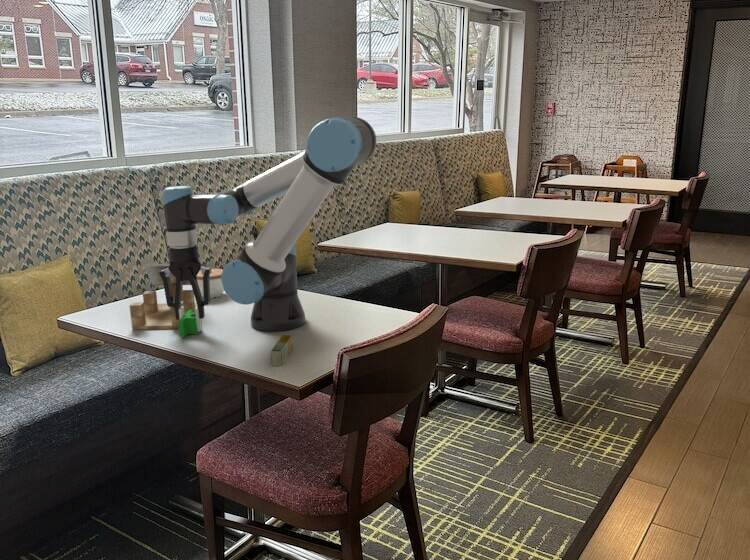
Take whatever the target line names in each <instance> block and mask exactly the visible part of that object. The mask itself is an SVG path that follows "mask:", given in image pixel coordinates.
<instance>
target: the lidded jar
mask: <svg viewBox="0 0 750 560" xmlns="http://www.w3.org/2000/svg"><path fill="white" fill-rule="evenodd" d="M207 268H211V273H210V276H209V280H210V299H214V297H216V298H219V297H221V296H222V295H223V293H224V292H225V291H224V288H223V284H222V282H221V275H222V271H223V269H224V268H212V267H211V266H210V267H208V266H207ZM201 273H202V272H201V271H199V273H198V274H197V281H198V285H199V288H200V292H201V295H202V298H203V297H204V293H203V275H202V274H201ZM218 296H219V297H218Z"/></svg>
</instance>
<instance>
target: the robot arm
mask: <svg viewBox="0 0 750 560" xmlns="http://www.w3.org/2000/svg"><path fill="white" fill-rule="evenodd" d="M376 135H377V134H376V132H375V129H374V128H373V126H372V125H371V124H370V123H369V122H368V121H367V120H365V119H363V118H360V117H358V116H348V117H338V116H337V117H336V116H335V117H329V118H326V119H324V120H322V121H320V122H318V123H317V124H316V125H314V127H313V128H312V129H311V131H310V132H309V134H308V137H307V140H306V149H305V151H303V152H301V153H299V154H297V155H295V156H293V157H291V158H289V159H287V160H286V161H283V162H281V163H280V164H278V165H276V166H275V167H272V168H270V169H268V170H266V171H265V172H263V173H261V174H259V175H257V176H255V177H253V178H251V179H250V180H247V181H246V182H244V183H241V184H239V185H238V186H236V187H234V188H231V189H228V190H224V191H220V192H216V193H212V194H210V193H209V194H194V192H193V189H192V187H191V186H189V185H188V186H187V185H177V186H176V185H175V186H168V187H165V188H164V189H163V190H162V207H163V213H164V221H165V226H166V227H165V231H166V241H167V243H166V244H167V246H169V247H168V249H167V251H168V258H169V263H170V264H169V267H168V268H167V269H163V270H162V271H161V272H160V273H159V274H160V276H161V278H162V280H163V284H164V286H163V291H164V294H165V300H166V304H167V306H168V307H173V308H174V309H175V314H176V319H177V320H180V319H181V318H182V317H183V316H184V315H185V312H184V306H180V305H181V297H182V286H184V285H183V281H184V280H188V281H190V284H191V285H190V286H191V290H193V293H194V300H195V303H197V307H196V308H195V314H196V323H197V333H199V332H201V331H202V330H203V321H202V320H203V319H204V318H205V317H206V314H205V307H206V306H208V305H209V304H210V303H211V298H210V280H209V276H210V273H211V269H212V267H211V268H208V267H205V266H202V263H201V262H200V255H199V247H198V245H197V243H198V239H197V229H196V225H218V226H223V225H231V224H234V222H235V221H236V220H237V218H238V217H244V216H247V215H249V214H251V213H253V211H255V210H257V209H258V208H260V207H262V206H264V205H266V204H268V203H270V202H272V201H274V200H276V199H278V198H280V197H282V196H283V197H282V198H281V200H280V202H279V203H278V205H277V207H275V209H274V211H273V212H272V214H271V216H270V217H269V219H268V220H267V222H266V223H265V224H264V226H263V228H262V229H261V232H260V233H259V234H258V236H257V237H256V239H255V240H250V241H247V242H246V243H245V245H244V247H243V248H242V249H241V250H240V252H239V254H238V255H237V257H236V259H233V260H231V261H229V262H228V263H227V264H226V265H225V266H224V268H222V269H223V271H222V275H221V282H222V284H223V288H224V292H225V293H226V295H227V296H228V298H230V299H231V300H232V301H233V302H236V303H237V304H239V305H240V304H241V305H245V306H246V305H252V304H253V307H252V311H251V315H250V326H251V327H252V328H254V329H256V330H258V331H259V330H260V331H265V332H281V331H282V332H283V331H288V330H289V331H290V330H293V329H296V328H300V327H301V326H303V325H305V323H306V313H305V311H304V308H303V306H302V303H301V300H300V298H299V295H298V293H299V292H298V276H297V275H298V274H297V254H296V248H295V245H296V243H297V241H298V240H299V238H300V236H301V235H302V234H303V232H304V231H305V229H306V228H307V226H308V225H309V223H310V222H311V220H312V219H313V218H314V216H315V214H316V213H317V211H318V210H319V208H320V207H321V205H322V204H323V203H324V201H325V199H327V197H328V195H329V193H331V190H332V189H333V188H334V187H337V186H342V185H344V183H345V182H346V180H347V179H348V177H349V176H350V174H351V173H352V172H353V170H354V169H355V167H356V166H359V165H361V164H363V163H366V162H367V161H368V160H369V159H370V158H371V157H372V156H373V155H374V152H375V150H376V147H377V136H376ZM199 271H201V272H202V273H201V274H202V275H203V293H204V298H203V297H202V295H201V292H200V288H199V285H198V281H197V274H198V273H199ZM170 272H171V273H172V274H173V275H174V276H175V277H176V289H175V301H174V300H173V294H172V288H171V282H170V277H169V276H170Z"/></svg>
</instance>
